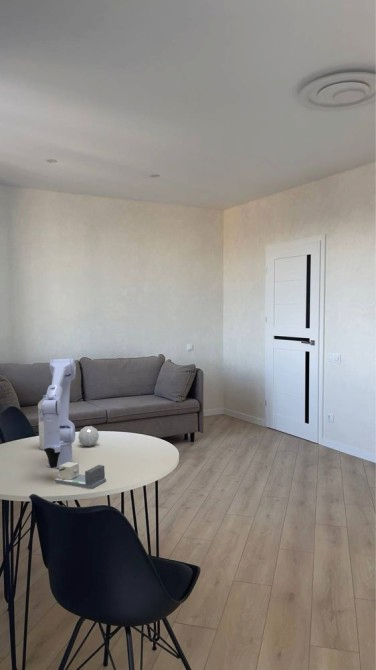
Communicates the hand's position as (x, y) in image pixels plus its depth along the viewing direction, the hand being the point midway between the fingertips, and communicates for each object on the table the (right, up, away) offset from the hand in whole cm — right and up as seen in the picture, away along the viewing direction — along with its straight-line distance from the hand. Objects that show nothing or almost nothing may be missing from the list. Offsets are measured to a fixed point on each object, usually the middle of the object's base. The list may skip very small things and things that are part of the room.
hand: (53, 467), depth 181 cm
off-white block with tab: (+7, -3, -4) cm, 8 cm away
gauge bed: (+11, -4, -5) cm, 13 cm away
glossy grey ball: (+3, -3, +47) cm, 47 cm away
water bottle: (-15, -3, +43) cm, 45 cm away
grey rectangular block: (+17, -3, -8) cm, 19 cm away
